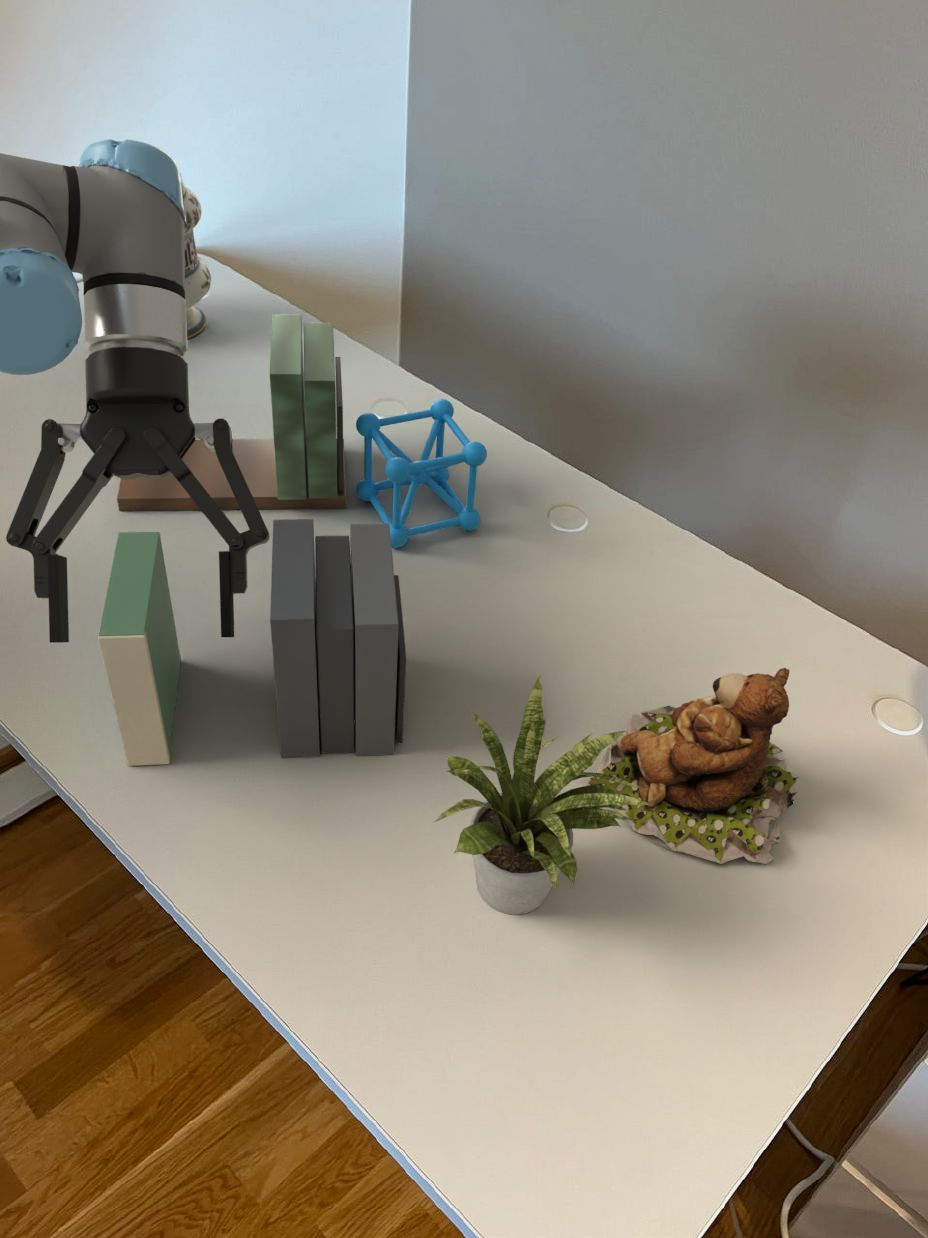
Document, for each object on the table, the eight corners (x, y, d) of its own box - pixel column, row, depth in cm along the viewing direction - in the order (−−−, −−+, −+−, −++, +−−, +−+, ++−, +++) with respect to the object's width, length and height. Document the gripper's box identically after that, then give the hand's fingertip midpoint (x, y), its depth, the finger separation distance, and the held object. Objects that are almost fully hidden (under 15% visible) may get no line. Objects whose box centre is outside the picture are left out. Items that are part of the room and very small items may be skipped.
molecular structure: (389, 554, 102) (390, 469, 95) (352, 494, 108) (352, 410, 101) (483, 532, 105) (492, 448, 98) (443, 475, 112) (448, 392, 105)
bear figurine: (630, 695, 91) (658, 589, 82) (804, 762, 87) (852, 657, 78) (572, 812, 81) (596, 705, 73) (764, 892, 77) (813, 789, 69)
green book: (128, 767, 82) (97, 637, 72) (143, 661, 90) (117, 531, 80) (169, 765, 82) (144, 635, 72) (181, 660, 90) (160, 531, 80)
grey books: (281, 759, 83) (270, 620, 73) (283, 656, 91) (273, 518, 81) (403, 754, 84) (409, 617, 74) (394, 653, 92) (399, 516, 82)
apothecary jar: (97, 313, 131) (69, 164, 118) (188, 291, 137) (170, 146, 124) (139, 358, 124) (114, 205, 112) (232, 332, 130) (219, 184, 117)
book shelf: (118, 514, 103) (90, 373, 93) (131, 448, 111) (107, 311, 101) (346, 511, 106) (345, 374, 96) (343, 447, 114) (342, 314, 103)
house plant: (515, 1035, 68) (546, 897, 57) (366, 899, 75) (367, 751, 64) (645, 897, 76) (694, 752, 65) (500, 785, 83) (523, 636, 72)
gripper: (297, 368, 87) (305, 635, 86) (-13, 368, 84) (-6, 644, 83) (294, 343, 79) (302, 634, 79) (-46, 342, 76) (-39, 645, 76)
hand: (144, 640), depth 81 cm, fingers open, 12 cm apart
